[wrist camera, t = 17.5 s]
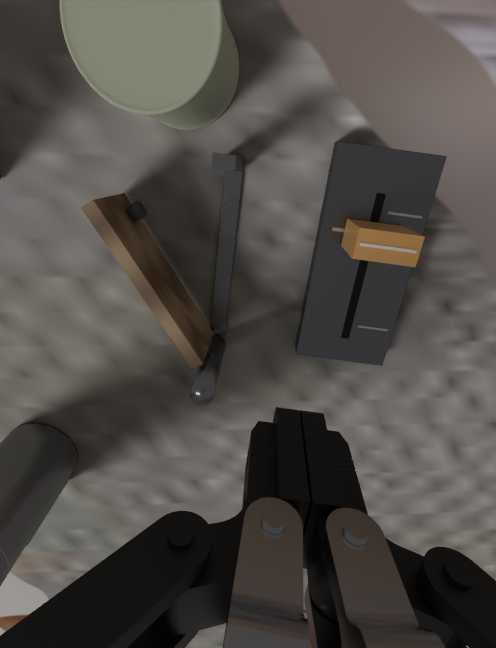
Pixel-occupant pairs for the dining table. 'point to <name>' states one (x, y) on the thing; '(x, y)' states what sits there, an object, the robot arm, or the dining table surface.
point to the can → (155, 56)
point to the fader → (382, 242)
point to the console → (359, 275)
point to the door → (151, 273)
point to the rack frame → (221, 276)
